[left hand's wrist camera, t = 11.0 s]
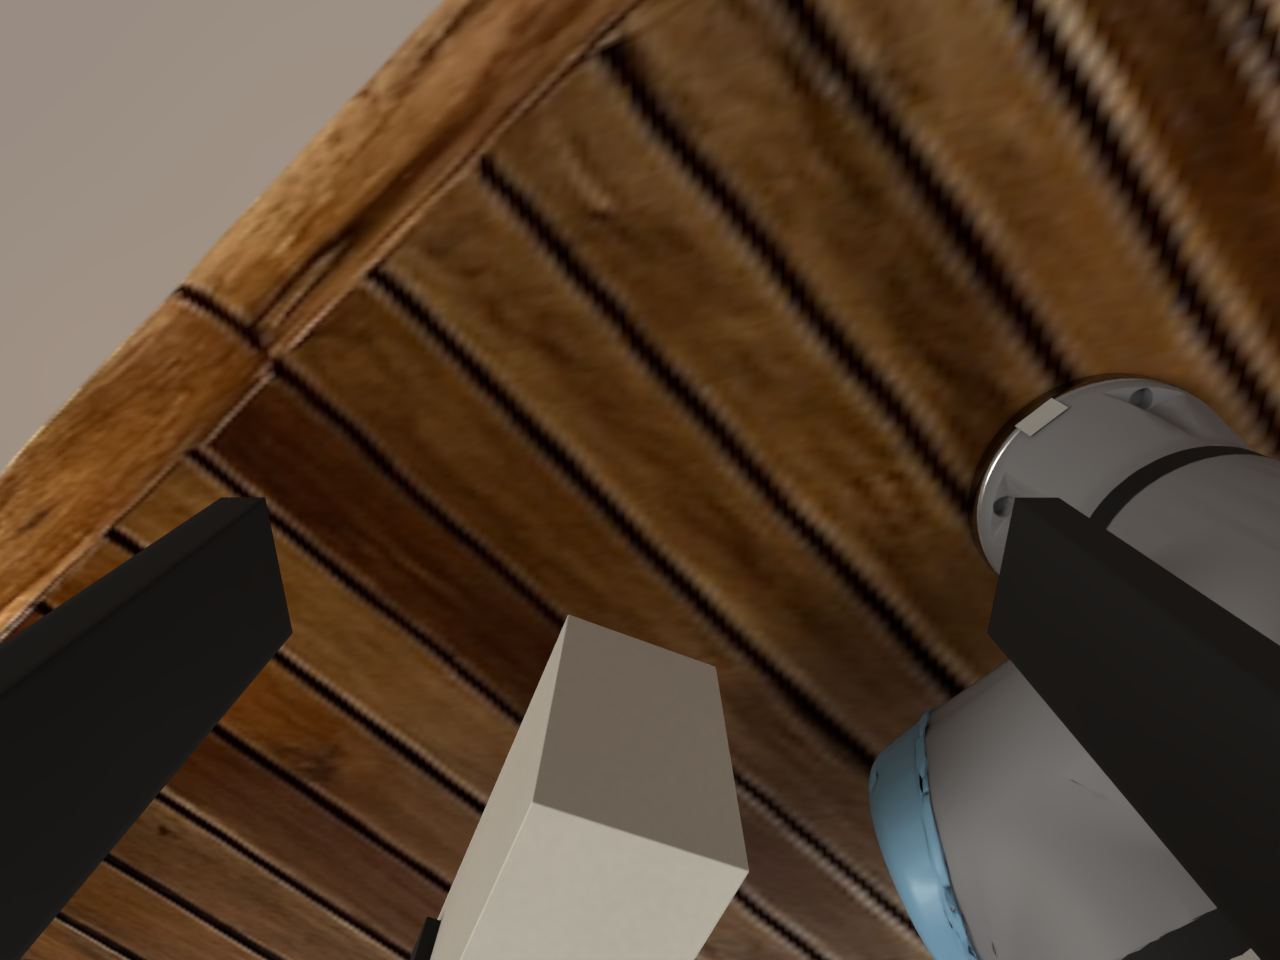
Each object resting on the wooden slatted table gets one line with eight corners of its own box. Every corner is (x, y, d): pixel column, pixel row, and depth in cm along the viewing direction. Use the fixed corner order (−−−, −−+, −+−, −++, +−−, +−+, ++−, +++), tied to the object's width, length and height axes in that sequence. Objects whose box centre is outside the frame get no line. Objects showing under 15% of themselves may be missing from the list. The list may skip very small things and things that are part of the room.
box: (568, 613, 32) (532, 802, 22) (716, 666, 33) (749, 871, 23) (424, 949, 40) (344, 1211, 29) (548, 985, 41) (514, 1250, 30)
